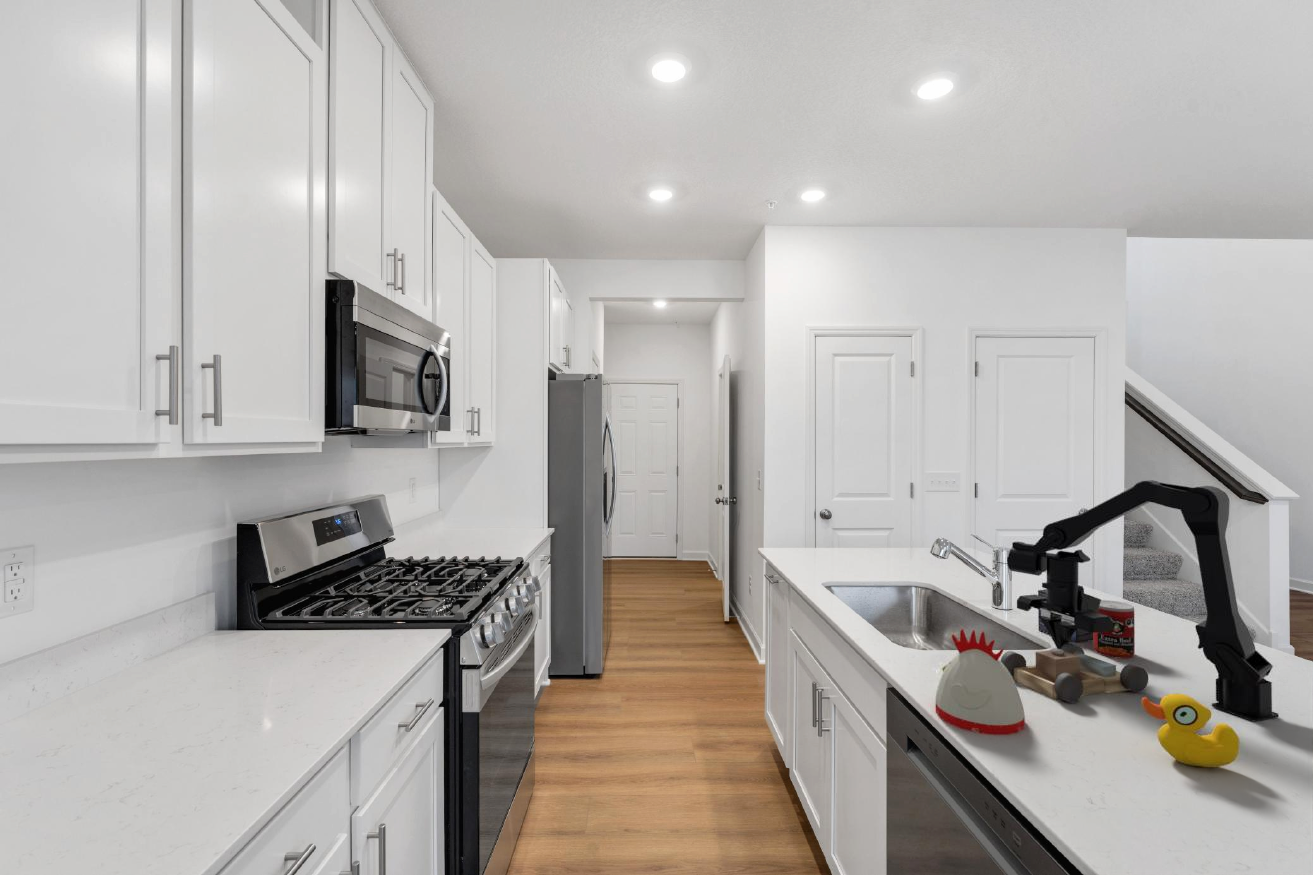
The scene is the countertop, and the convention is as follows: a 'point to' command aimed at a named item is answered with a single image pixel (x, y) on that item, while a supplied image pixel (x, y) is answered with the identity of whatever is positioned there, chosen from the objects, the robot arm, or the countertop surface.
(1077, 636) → the small box
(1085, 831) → the countertop surface
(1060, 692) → the chassis
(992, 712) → the kitchen timer
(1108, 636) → the canned food
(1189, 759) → the duckling
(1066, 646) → the wheel
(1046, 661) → the block
